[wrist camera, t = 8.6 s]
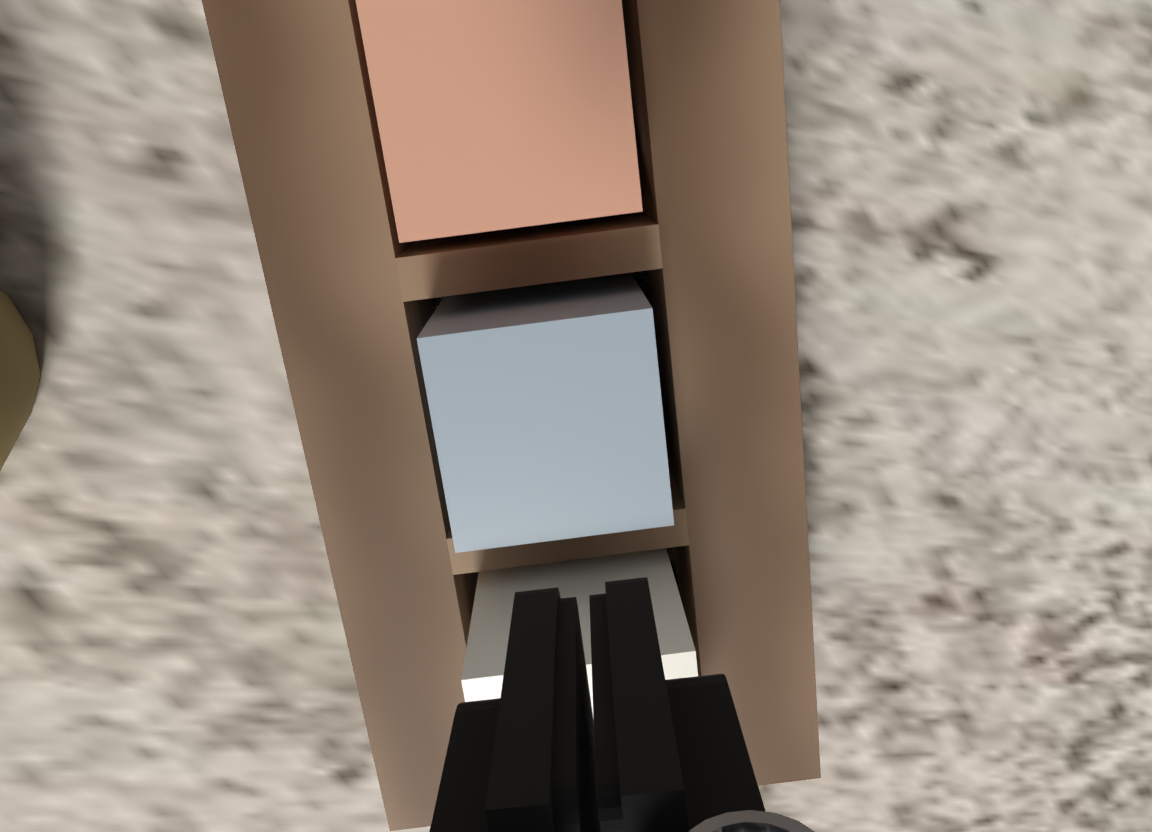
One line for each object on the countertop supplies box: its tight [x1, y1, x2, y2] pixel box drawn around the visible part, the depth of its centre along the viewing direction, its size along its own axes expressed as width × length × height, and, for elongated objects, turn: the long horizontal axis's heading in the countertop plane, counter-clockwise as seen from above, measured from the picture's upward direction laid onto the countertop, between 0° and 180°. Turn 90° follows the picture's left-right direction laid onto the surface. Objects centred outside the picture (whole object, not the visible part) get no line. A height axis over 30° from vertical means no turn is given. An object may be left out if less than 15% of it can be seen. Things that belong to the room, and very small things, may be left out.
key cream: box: [461, 548, 698, 720], centre depth 22 cm, size 5×5×5 cm
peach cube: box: [356, 0, 643, 243], centre depth 20 cm, size 5×5×5 cm
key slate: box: [417, 273, 674, 553], centre depth 22 cm, size 5×5×5 cm
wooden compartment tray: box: [202, 0, 821, 831], centre depth 24 cm, size 12×23×4 cm, turn 7°
